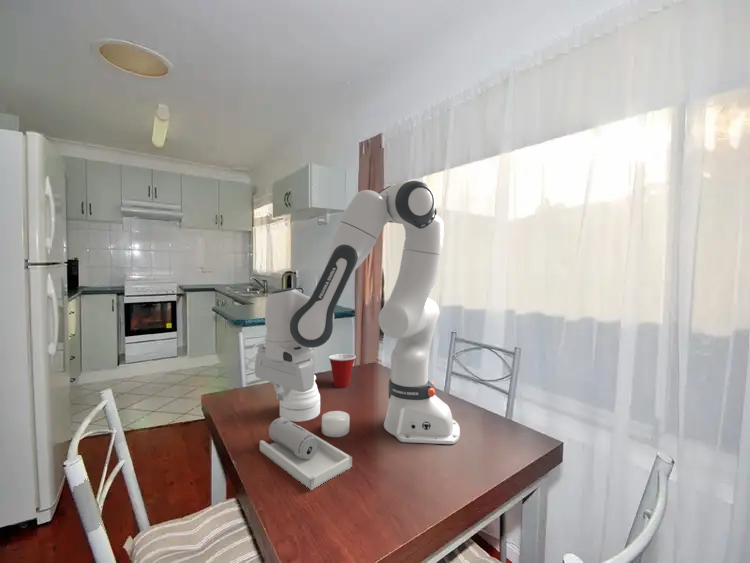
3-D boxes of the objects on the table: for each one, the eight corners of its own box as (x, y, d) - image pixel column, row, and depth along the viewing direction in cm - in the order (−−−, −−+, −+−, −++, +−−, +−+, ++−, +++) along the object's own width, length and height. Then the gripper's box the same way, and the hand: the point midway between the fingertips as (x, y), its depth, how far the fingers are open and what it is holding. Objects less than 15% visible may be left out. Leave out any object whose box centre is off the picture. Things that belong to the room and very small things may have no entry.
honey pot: (297, 425, 102) (298, 366, 101) (271, 413, 110) (271, 358, 109) (328, 411, 113) (329, 357, 112) (302, 401, 120) (302, 350, 119)
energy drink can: (290, 420, 97) (324, 440, 87) (278, 441, 94) (312, 464, 84) (275, 412, 93) (309, 432, 83) (262, 434, 91) (296, 457, 81)
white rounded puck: (352, 425, 103) (352, 412, 103) (344, 438, 95) (344, 424, 95) (327, 422, 105) (327, 409, 105) (317, 434, 97) (317, 421, 97)
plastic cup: (350, 379, 144) (350, 350, 143) (359, 388, 134) (359, 357, 133) (324, 382, 139) (325, 353, 139) (332, 391, 129) (332, 360, 129)
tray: (259, 450, 89) (259, 441, 89) (298, 434, 97) (299, 425, 97) (311, 490, 74) (311, 479, 74) (352, 467, 82) (352, 457, 82)
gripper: (248, 345, 95) (249, 394, 96) (299, 358, 83) (299, 414, 84) (267, 341, 100) (268, 388, 101) (318, 352, 88) (317, 405, 89)
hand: (282, 400), depth 92 cm, fingers closed
